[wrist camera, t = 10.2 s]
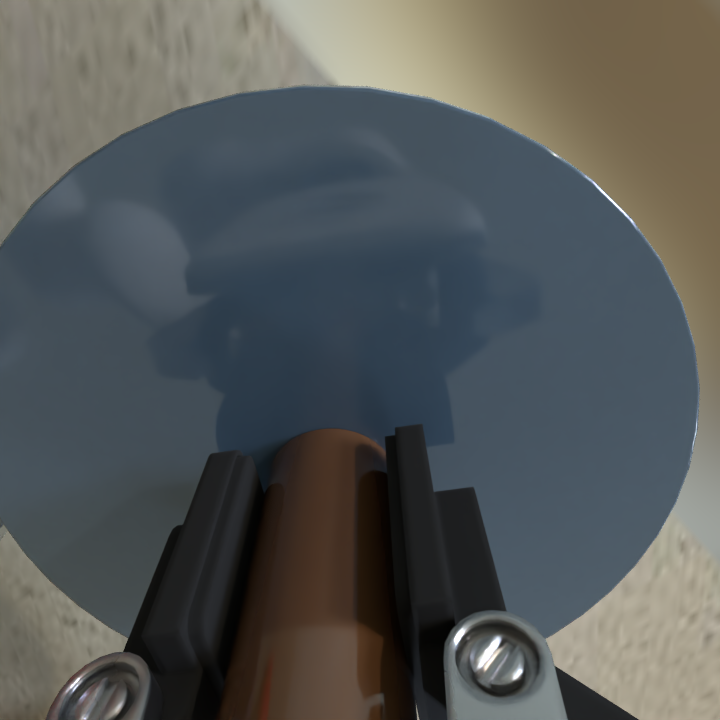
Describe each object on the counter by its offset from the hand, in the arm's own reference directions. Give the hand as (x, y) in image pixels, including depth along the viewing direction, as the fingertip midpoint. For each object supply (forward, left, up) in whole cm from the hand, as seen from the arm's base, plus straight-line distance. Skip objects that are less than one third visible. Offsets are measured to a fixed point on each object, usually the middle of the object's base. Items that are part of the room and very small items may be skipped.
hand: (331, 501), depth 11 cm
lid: (0, 0, -1) cm, 1 cm away
